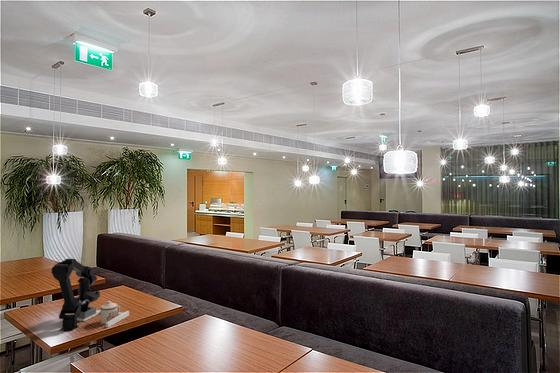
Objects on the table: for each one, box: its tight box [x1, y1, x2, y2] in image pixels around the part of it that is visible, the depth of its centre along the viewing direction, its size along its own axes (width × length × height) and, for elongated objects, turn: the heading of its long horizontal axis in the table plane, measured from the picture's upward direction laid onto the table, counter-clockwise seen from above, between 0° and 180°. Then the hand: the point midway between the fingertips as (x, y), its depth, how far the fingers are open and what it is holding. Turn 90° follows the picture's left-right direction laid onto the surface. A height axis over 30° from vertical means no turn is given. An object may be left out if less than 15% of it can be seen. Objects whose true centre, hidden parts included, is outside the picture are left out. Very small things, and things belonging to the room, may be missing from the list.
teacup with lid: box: [99, 300, 121, 325], centre depth 196 cm, size 12×9×12 cm
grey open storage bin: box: [77, 306, 130, 328], centre depth 197 cm, size 18×26×5 cm
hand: (84, 313), depth 199 cm, fingers closed, pressing on grey open storage bin
